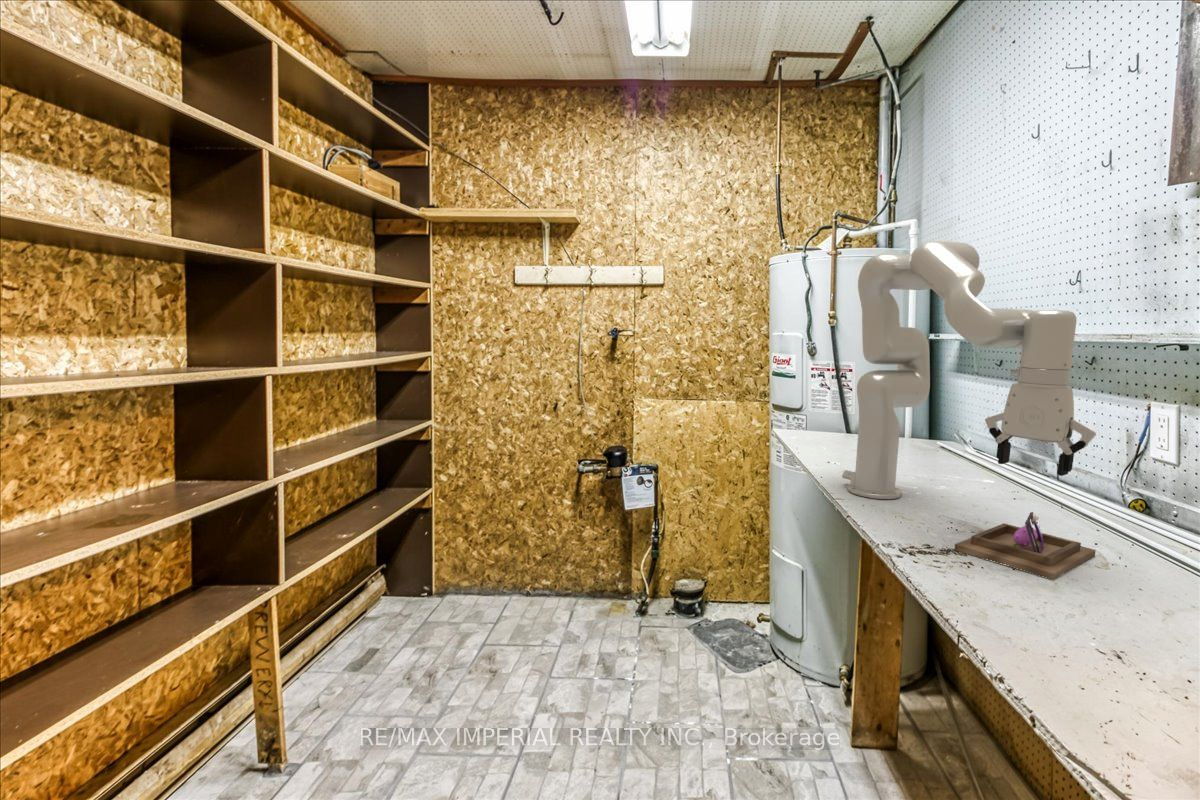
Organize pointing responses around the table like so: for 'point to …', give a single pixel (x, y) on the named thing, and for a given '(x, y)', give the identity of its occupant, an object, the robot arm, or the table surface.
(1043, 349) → the robot arm
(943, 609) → the table surface
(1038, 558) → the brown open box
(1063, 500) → the table surface
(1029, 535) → the purple figure with panel
